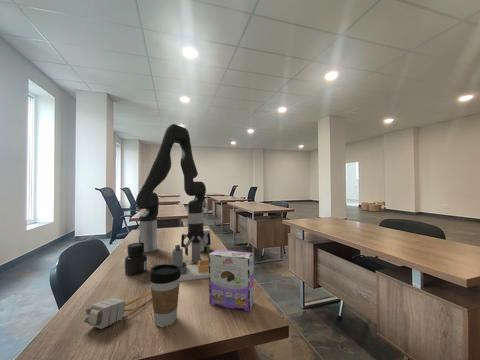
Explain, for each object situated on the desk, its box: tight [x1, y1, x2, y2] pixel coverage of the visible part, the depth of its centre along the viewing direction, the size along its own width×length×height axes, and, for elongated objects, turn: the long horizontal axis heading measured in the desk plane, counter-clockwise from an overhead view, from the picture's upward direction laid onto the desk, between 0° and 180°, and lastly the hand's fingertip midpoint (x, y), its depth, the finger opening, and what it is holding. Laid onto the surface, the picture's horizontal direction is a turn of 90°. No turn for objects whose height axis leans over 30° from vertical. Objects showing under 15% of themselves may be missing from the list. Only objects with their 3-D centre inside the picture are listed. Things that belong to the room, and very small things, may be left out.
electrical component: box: [83, 291, 152, 329], centre depth 70 cm, size 24×6×5 cm, turn 159°
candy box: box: [208, 249, 255, 312], centre depth 72 cm, size 14×6×16 cm, turn 71°
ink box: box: [200, 228, 211, 253], centre depth 127 cm, size 8×5×12 cm, turn 106°
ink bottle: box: [124, 241, 148, 277], centre depth 98 cm, size 10×9×12 cm
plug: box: [191, 242, 201, 264], centre depth 111 cm, size 4×4×11 cm
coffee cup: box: [149, 263, 181, 327], centre depth 64 cm, size 8×8×15 cm
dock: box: [169, 244, 209, 282], centre depth 96 cm, size 23×12×12 cm, turn 103°
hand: (196, 254), depth 111 cm, fingers open, 8 cm apart
